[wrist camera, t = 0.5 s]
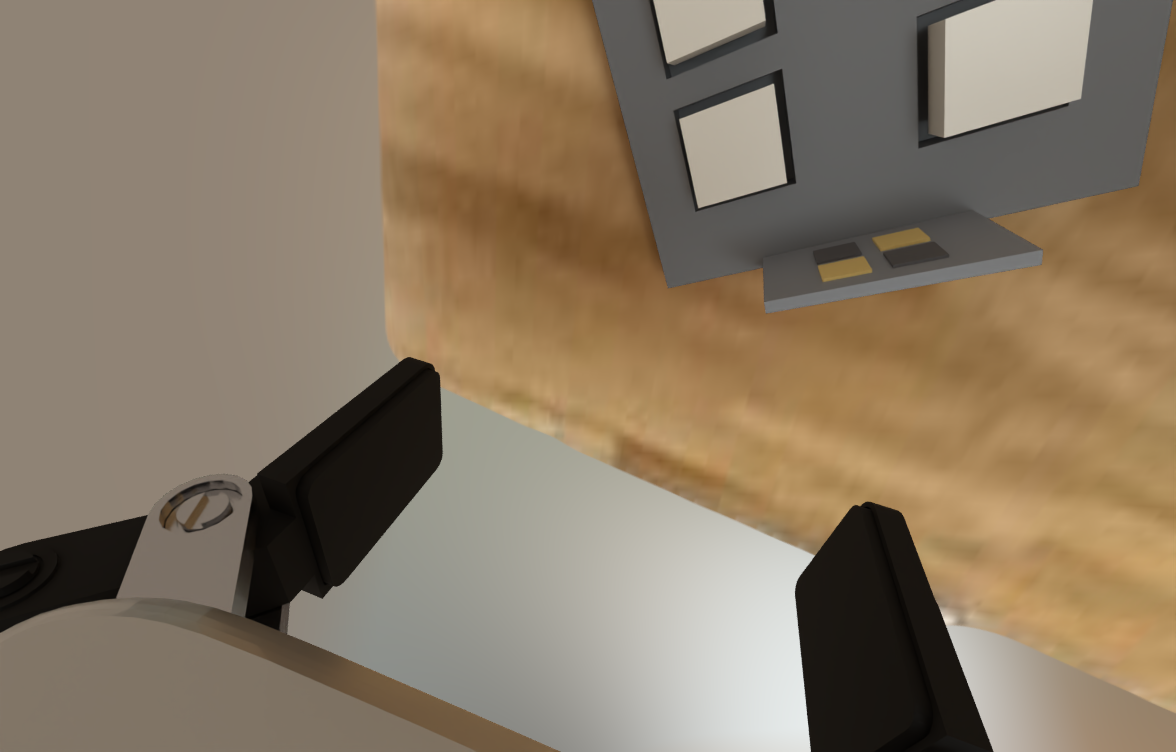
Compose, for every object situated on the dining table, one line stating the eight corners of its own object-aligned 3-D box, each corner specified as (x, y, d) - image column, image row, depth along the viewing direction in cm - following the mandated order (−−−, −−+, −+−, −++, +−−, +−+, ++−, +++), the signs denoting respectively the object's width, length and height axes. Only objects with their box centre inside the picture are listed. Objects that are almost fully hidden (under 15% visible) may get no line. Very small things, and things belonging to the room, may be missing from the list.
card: (973, 207, 23) (1043, 245, 17) (972, 222, 23) (1041, 264, 17) (762, 255, 27) (763, 299, 21) (764, 267, 27) (766, 313, 22)
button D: (772, 84, 23) (774, 83, 21) (784, 175, 25) (786, 182, 23) (685, 117, 25) (679, 119, 23) (702, 199, 27) (698, 208, 25)
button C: (1062, -25, 18) (1097, -39, 16) (1050, 97, 20) (1080, 98, 18) (927, 25, 20) (945, 18, 18) (928, 133, 22) (944, 137, 20)
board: (1178, -371, 15) (1257, -456, 13) (1098, 175, 23) (1138, 185, 21) (596, -38, 25) (578, -52, 22) (674, 273, 32) (668, 288, 30)
